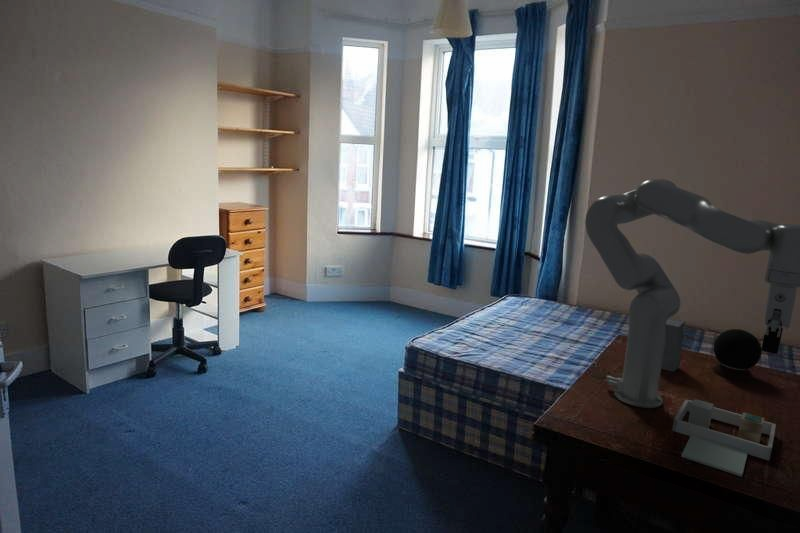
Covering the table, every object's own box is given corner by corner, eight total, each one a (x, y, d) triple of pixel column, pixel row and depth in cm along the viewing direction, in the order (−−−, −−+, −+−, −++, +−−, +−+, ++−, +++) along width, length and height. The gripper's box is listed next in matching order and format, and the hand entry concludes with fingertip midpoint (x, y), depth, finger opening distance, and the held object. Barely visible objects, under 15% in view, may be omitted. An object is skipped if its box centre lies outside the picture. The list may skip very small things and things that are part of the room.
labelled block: (736, 441, 134) (741, 417, 133) (738, 434, 138) (743, 411, 137) (758, 447, 132) (763, 424, 130) (759, 440, 135) (764, 417, 134)
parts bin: (672, 430, 138) (673, 419, 137) (684, 409, 150) (685, 399, 150) (769, 460, 126) (771, 449, 125) (773, 435, 138) (775, 424, 138)
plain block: (687, 426, 141) (691, 404, 140) (690, 419, 144) (694, 398, 143) (706, 432, 138) (710, 410, 137) (709, 425, 142) (713, 404, 140)
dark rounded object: (756, 373, 179) (765, 329, 176) (755, 386, 169) (765, 340, 166) (711, 363, 187) (718, 321, 183) (707, 375, 176) (715, 330, 173)
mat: (681, 456, 126) (681, 454, 126) (690, 436, 135) (691, 434, 135) (741, 476, 119) (742, 474, 119) (747, 454, 128) (747, 452, 128)
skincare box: (679, 367, 181) (687, 322, 177) (673, 373, 175) (680, 326, 172) (652, 360, 186) (659, 315, 183) (645, 365, 181) (652, 320, 178)
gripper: (803, 286, 119) (787, 360, 123) (804, 274, 133) (790, 341, 136) (762, 280, 124) (748, 352, 127) (768, 269, 137) (755, 334, 141)
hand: (770, 346), depth 132 cm, fingers open, 9 cm apart
